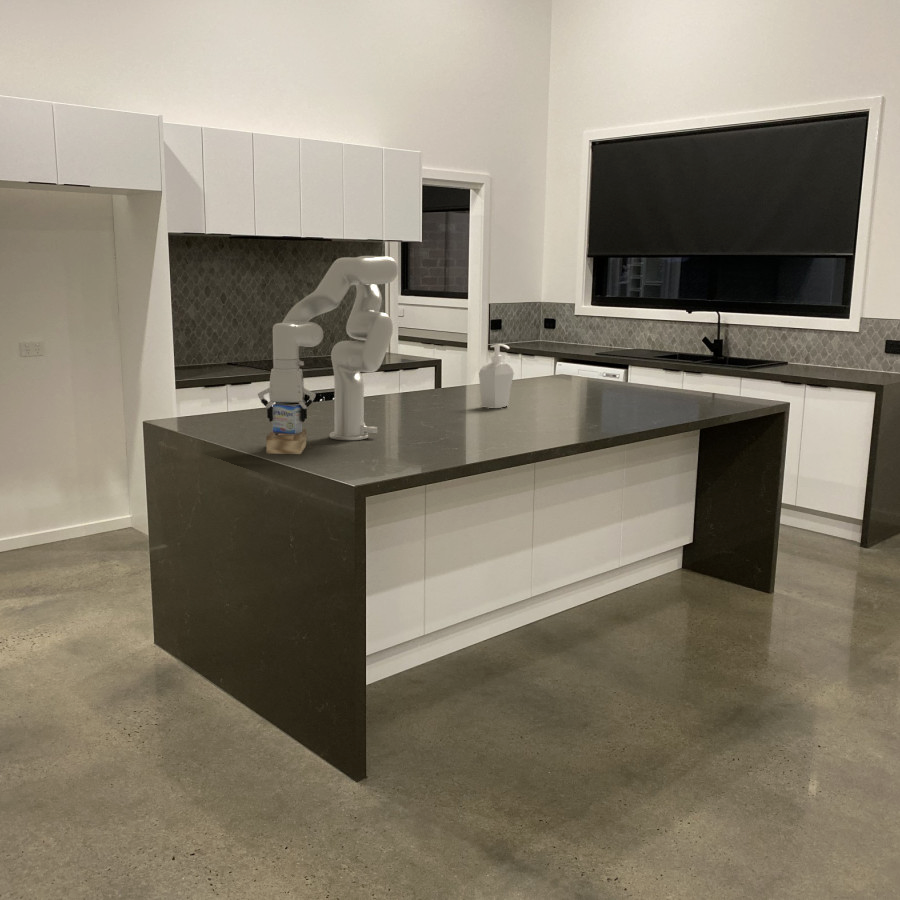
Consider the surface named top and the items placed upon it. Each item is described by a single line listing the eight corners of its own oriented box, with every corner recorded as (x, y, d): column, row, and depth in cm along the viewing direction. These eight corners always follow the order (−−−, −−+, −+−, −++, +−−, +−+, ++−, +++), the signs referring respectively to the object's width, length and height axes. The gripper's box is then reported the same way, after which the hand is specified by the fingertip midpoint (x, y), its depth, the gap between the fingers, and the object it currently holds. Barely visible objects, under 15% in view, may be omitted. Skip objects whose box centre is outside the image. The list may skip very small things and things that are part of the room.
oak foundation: (306, 445, 283) (306, 429, 282) (300, 454, 270) (300, 437, 269) (273, 445, 283) (273, 428, 282) (266, 453, 270) (266, 436, 269)
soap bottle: (497, 410, 363) (499, 345, 357) (477, 407, 369) (479, 344, 364) (515, 407, 372) (518, 344, 367) (496, 404, 378) (498, 342, 373)
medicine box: (272, 432, 275) (271, 404, 273) (279, 430, 279) (279, 402, 277) (295, 434, 272) (294, 406, 271) (302, 432, 276) (302, 404, 275)
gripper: (316, 363, 275) (317, 419, 279) (259, 362, 275) (260, 418, 278) (313, 366, 268) (314, 423, 271) (254, 365, 267) (256, 422, 271)
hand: (287, 421), depth 275 cm, fingers open, 9 cm apart
